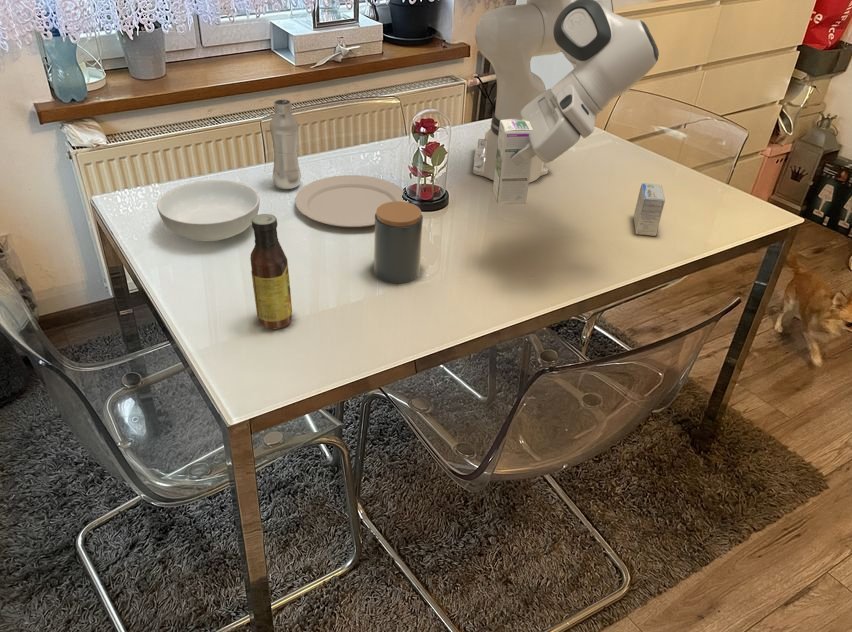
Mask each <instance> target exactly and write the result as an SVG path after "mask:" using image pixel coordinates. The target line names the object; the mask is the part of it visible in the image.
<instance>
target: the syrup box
mask: <svg viewBox="0 0 852 632" xmlns="http://www.w3.org/2000/svg"><path fill="white" fill-rule="evenodd" d="M532 131H533V129H532V127H531V124H530V122H529V120H527V119H507V120H500V126H499V134H498V144H497V154H496V164H495V173H494V180H493V185H492V194H493V196H494V198H495V200H496V203H497V204H498V205H526V204H527V200H528V194H529V193H528V192H529V185H530V183H529V178H530V171H531V163H532V158H530V159H527V160H524V161H523V162H522V163H521V164H519V165H515V164H514V163H513V162H512V159H511V156H512V155H513V154H514V153H515V152H516V151H517V150H518V151H520V150H522V149H524V148H525V147H526V145H527V144H528V143H530V140H529V137H528V135H529V134H530V133H531V132H532Z"/></svg>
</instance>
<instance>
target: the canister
mask: <svg viewBox="0 0 852 632" xmlns="http://www.w3.org/2000/svg"><path fill="white" fill-rule="evenodd" d="M423 219H424V216H423V214H422V210H421V208H420V207H419V206H418V205H416V204H414V203H411V202H409V203H407V202H399V201H396V202H388V203H385V204H382V205H380V206H379V207H378V208H377V211H376V214H375V225H374V237H373V238H374V239H373V240H374V242H373V245H374V246H373V273H374V275H375V277H377V278H378V280H381V281H382V282H385V283H391V284H405V283H410V282H412V281H414V280H416V279H418V277H419V275H420V271H421V257H422V239H423V238H422V236H423V221H424V220H423Z"/></svg>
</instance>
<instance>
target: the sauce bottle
mask: <svg viewBox="0 0 852 632" xmlns="http://www.w3.org/2000/svg"><path fill="white" fill-rule="evenodd" d="M251 228H252V230H253V235H254V247H253V249H252V251H251V253H250V259H249V260H250V267H251V281H252V287H253V295H254V304H255V311H256V316H257V321H258V322H259V324H260V325H261V326H262V327H263V328H266V329H269V330H277V329H278V330H279V329H281V328H285V327H286V326H288V325H289V324H290V323H291V322H292V320H293V305H292V304H293V303H292V294H291V293H292V292H291V282H290V274H289V273H290V272H289V263H288V257H287V255H286V254H285V251H284V249H283V247H282V245H281V243H280V241H279V238H278V237H279V236H278V230H277V229H278V220H277V217H276V216H275V215H274V214H270V213H261V214H257V216H255V217H253V218H252V224H251Z"/></svg>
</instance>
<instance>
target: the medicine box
mask: <svg viewBox="0 0 852 632" xmlns="http://www.w3.org/2000/svg"><path fill="white" fill-rule="evenodd" d="M665 202H666V198H665V193H664V190H663V185H662V184H656V183H646V182H645V183H644V182H643V183H641V185H640V188H639V192H638V196H637V200H636V204H635V208H634V213H633V218H632V219H633V224H634V232H635V235H641V236H651V237H655V236H657V233H658V229H659V226H660V222H661V218H662V214H663V211H664V206H665Z"/></svg>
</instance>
